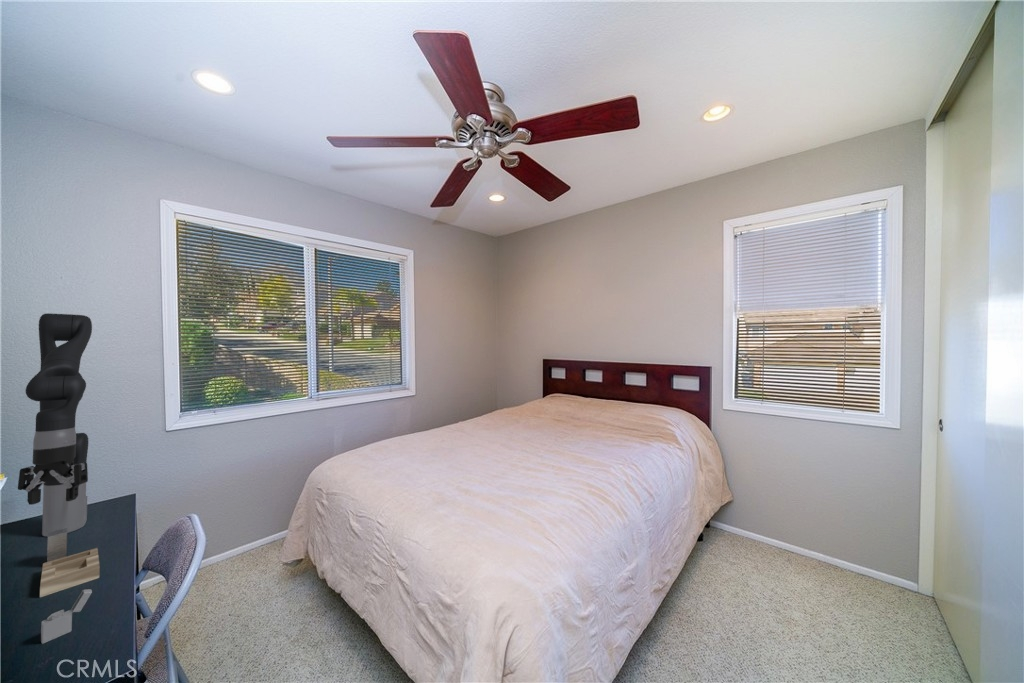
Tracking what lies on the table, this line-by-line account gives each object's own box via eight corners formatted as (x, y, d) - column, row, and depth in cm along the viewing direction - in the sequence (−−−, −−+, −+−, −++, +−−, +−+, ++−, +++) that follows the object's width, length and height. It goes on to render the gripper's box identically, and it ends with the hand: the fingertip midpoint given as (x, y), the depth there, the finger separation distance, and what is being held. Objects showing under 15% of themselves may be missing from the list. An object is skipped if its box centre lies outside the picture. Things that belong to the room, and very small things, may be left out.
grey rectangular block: (47, 562, 104) (48, 532, 104) (66, 556, 107) (67, 527, 107) (46, 567, 102) (47, 536, 102) (66, 561, 104) (67, 531, 104)
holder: (42, 573, 99) (43, 563, 99) (97, 557, 107) (97, 547, 107) (39, 597, 90) (40, 586, 90) (99, 577, 98) (99, 567, 98)
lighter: (41, 644, 77) (42, 608, 77) (40, 640, 78) (41, 605, 78) (91, 622, 83) (92, 589, 83) (89, 619, 84) (90, 586, 84)
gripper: (97, 440, 106) (95, 494, 105) (39, 443, 103) (37, 499, 102) (71, 446, 98) (69, 504, 97) (8, 450, 95) (5, 510, 95)
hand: (53, 501), depth 100 cm, fingers open, 8 cm apart
